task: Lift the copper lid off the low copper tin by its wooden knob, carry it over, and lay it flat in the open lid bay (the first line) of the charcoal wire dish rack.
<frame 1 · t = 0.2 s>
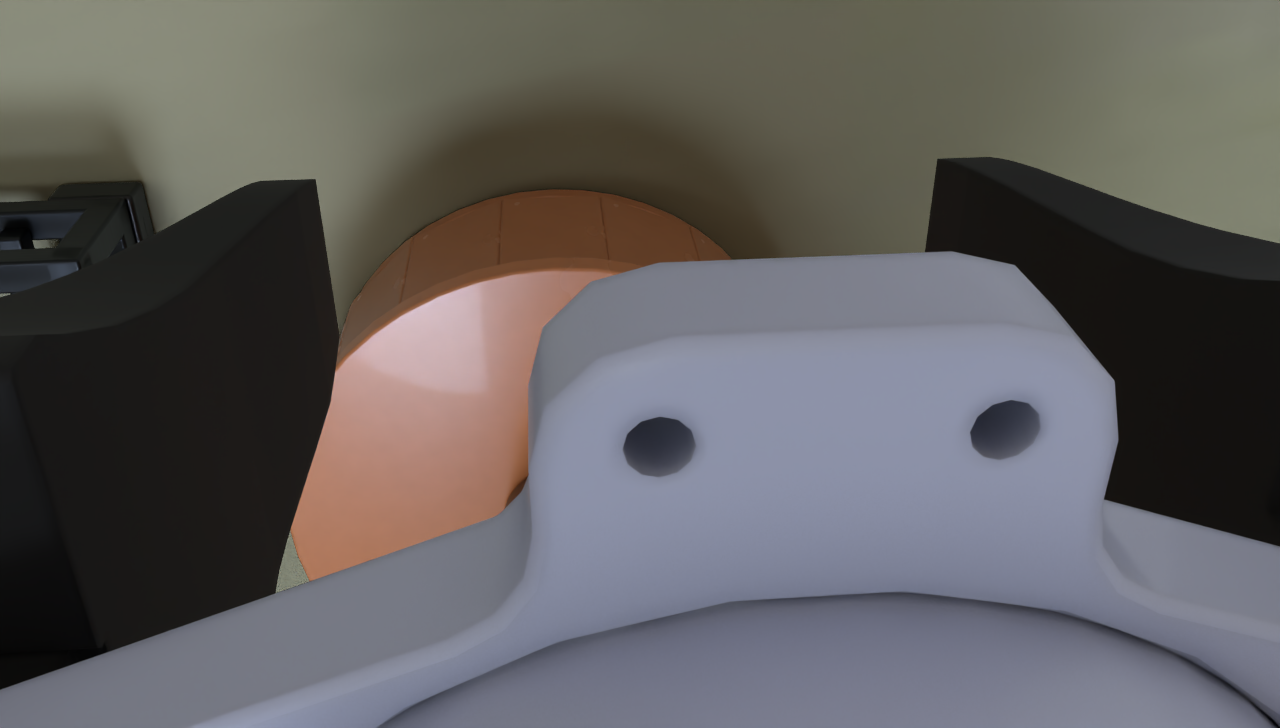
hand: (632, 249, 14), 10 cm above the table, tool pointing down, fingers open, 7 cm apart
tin: (560, 395, 27), on the table
lid: (565, 498, 23), point 4 cm above the table, touching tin
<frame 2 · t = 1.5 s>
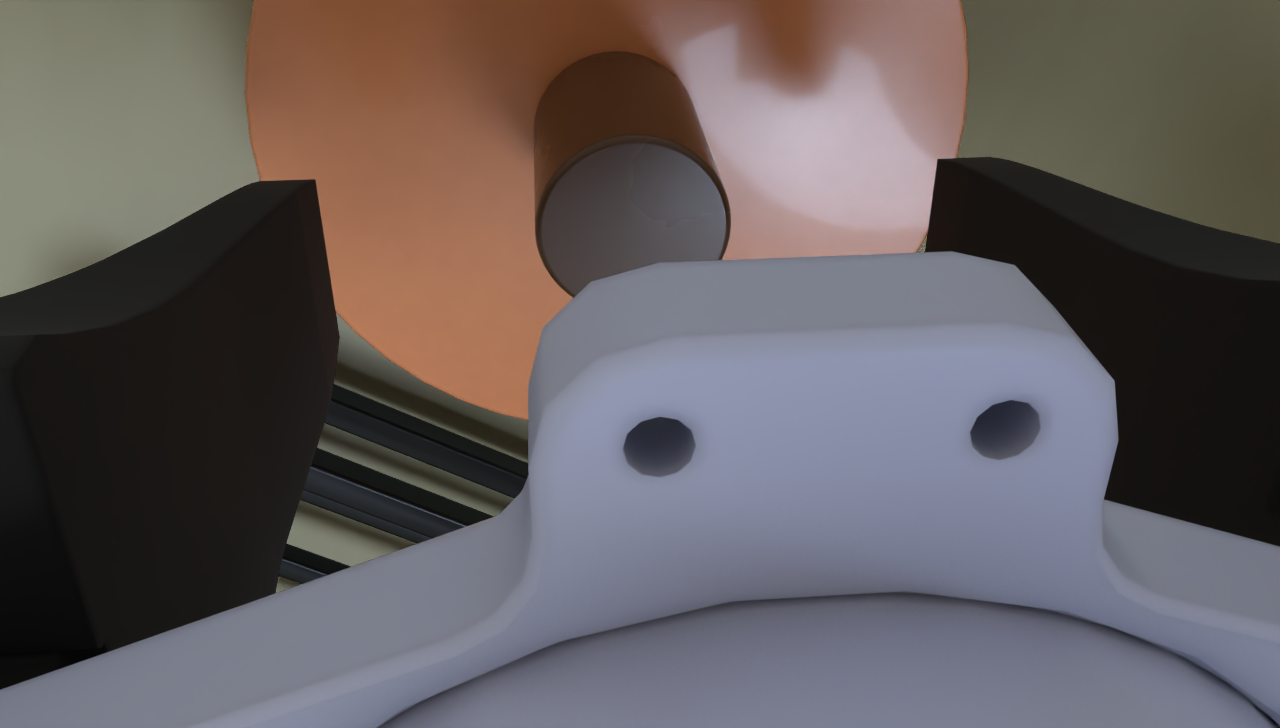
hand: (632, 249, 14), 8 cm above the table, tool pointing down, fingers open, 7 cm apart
lid: (613, 119, 18), point 4 cm above the table, touching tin
dish rack: (483, 684, 29), on the table
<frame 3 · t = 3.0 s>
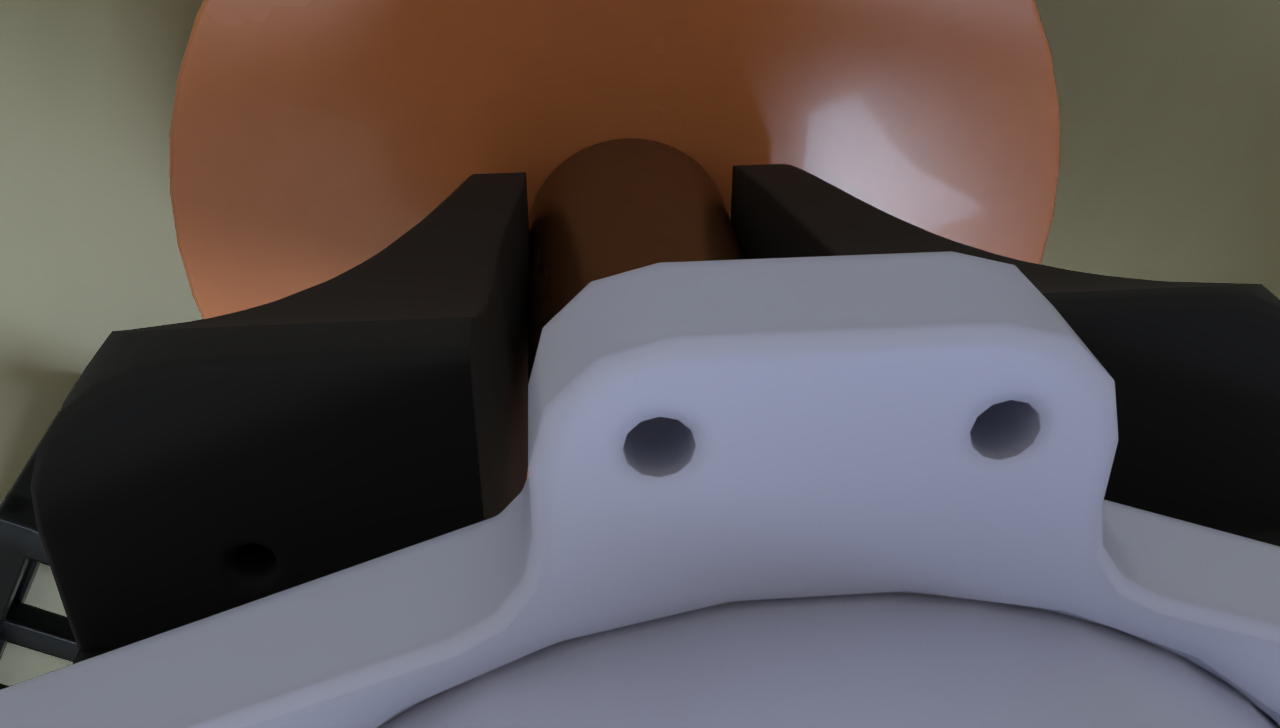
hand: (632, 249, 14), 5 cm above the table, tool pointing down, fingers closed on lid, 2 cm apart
lid: (624, 214, 15), point 4 cm above the table, touching gripper, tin
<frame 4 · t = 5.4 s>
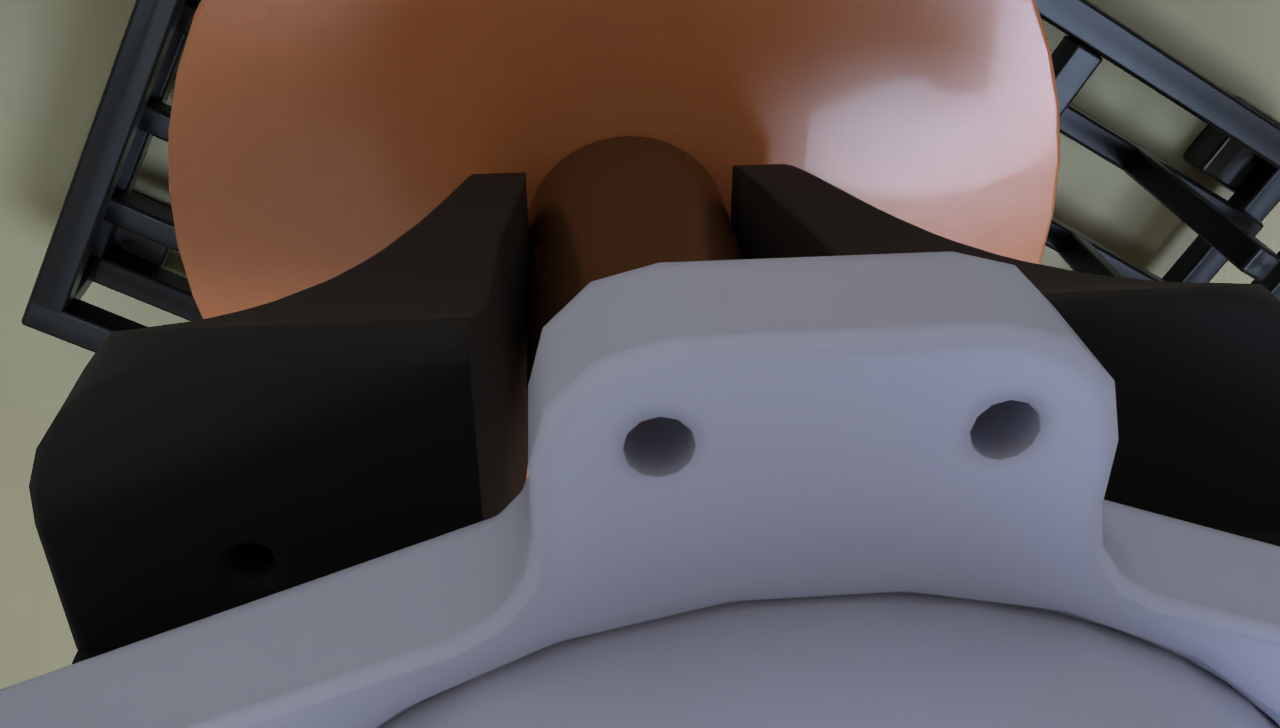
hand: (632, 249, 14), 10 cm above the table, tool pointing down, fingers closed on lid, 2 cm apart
lid: (624, 212, 15), point 9 cm above the table, touching gripper
dish rack: (695, 184, 25), on the table
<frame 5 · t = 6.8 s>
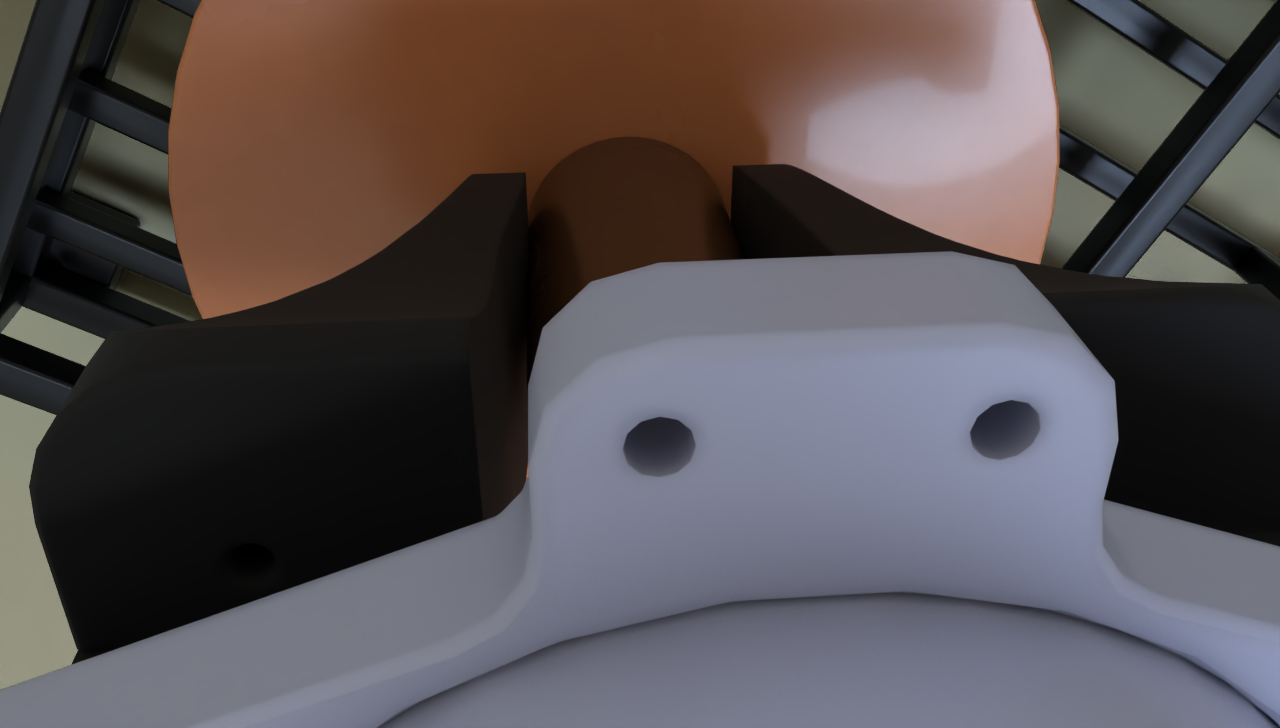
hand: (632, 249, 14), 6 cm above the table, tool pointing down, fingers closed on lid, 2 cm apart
lid: (623, 213, 15), point 5 cm above the table, touching gripper
dish rack: (778, 185, 20), on the table
when the fingers open (3 cm above the table, at t = 7.8 s): lid stays where it is, resting on dish rack.
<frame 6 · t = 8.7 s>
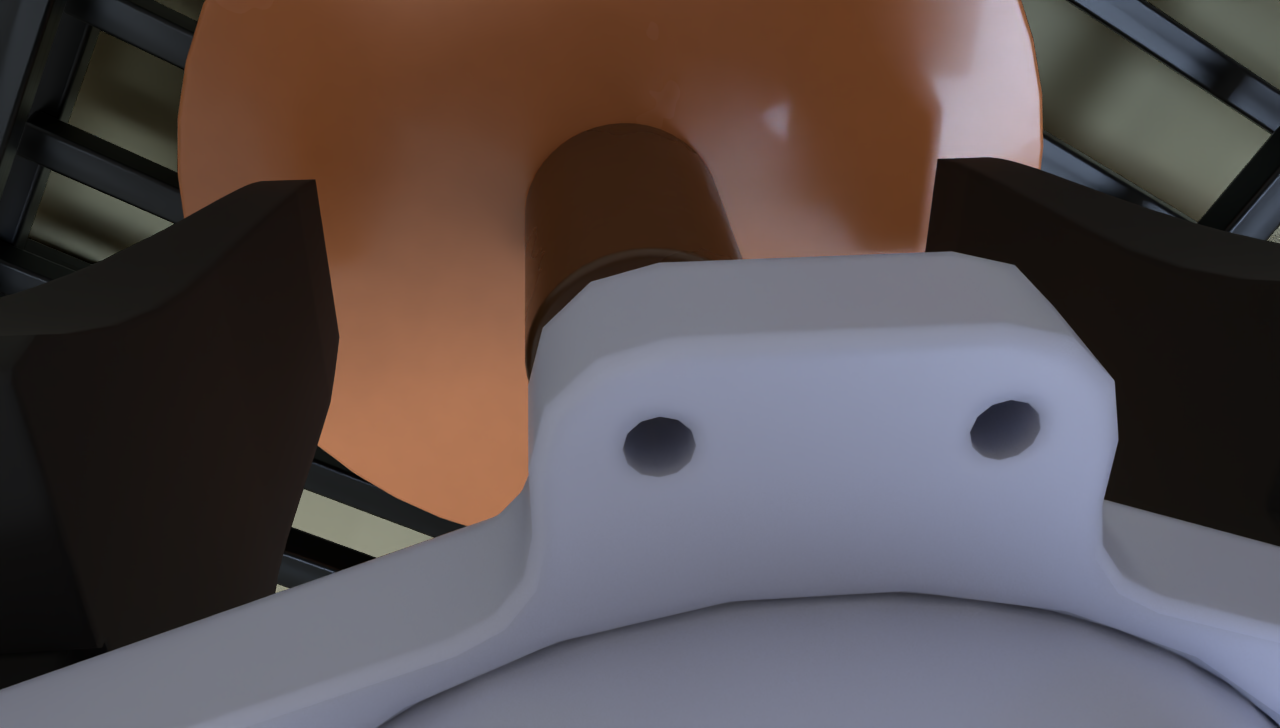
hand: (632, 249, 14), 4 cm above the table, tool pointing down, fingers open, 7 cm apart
lid: (619, 198, 15), point 2 cm above the table, touching dish rack
dish rack: (797, 229, 18), on the table
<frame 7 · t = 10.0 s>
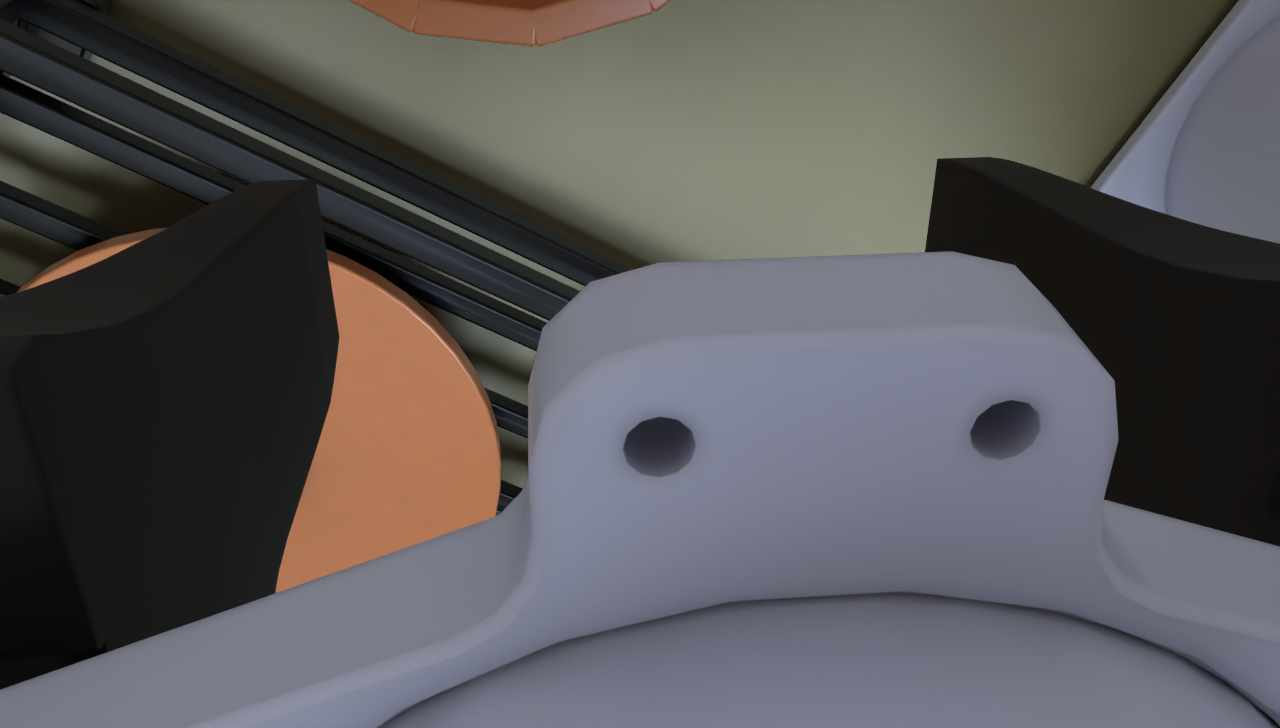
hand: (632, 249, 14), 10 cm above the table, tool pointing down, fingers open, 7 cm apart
lid: (241, 461, 24), point 2 cm above the table, touching dish rack
dish rack: (403, 452, 27), on the table
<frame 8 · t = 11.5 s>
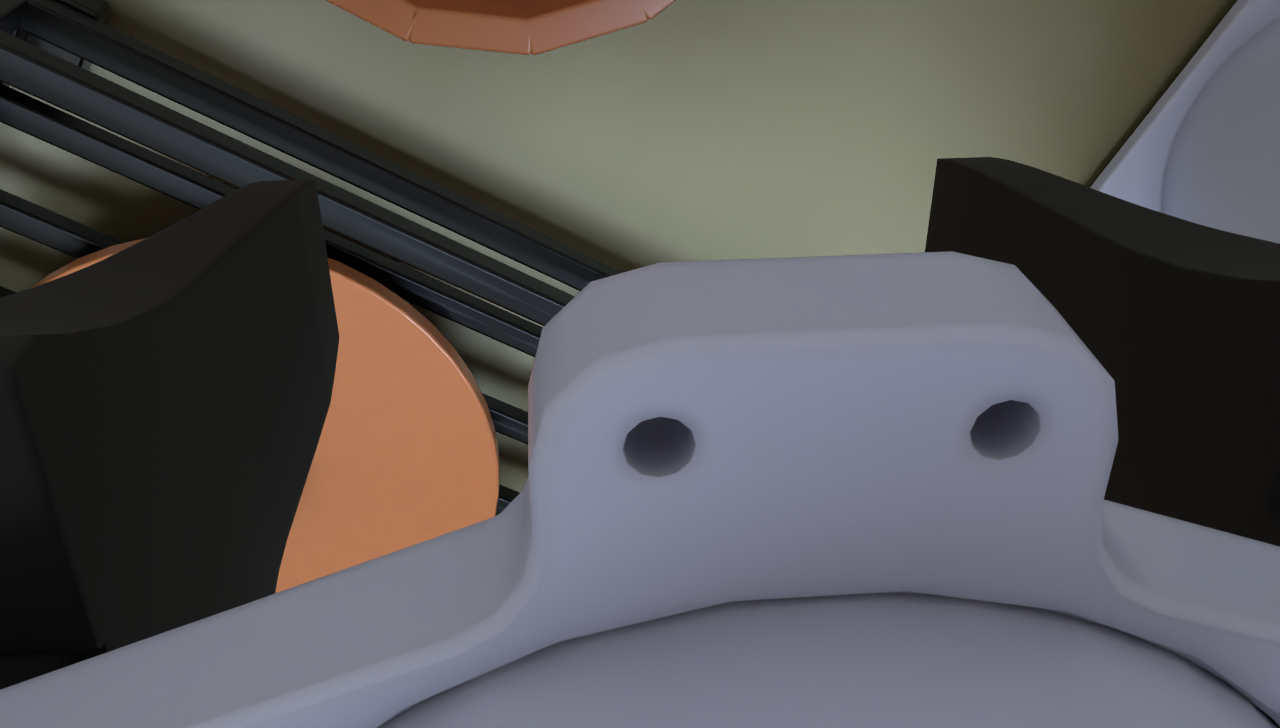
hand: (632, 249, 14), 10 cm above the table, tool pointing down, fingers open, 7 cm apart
lid: (240, 467, 24), point 2 cm above the table, touching dish rack
dish rack: (402, 457, 27), on the table
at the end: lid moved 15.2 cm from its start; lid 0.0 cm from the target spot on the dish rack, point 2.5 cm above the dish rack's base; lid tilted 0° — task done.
